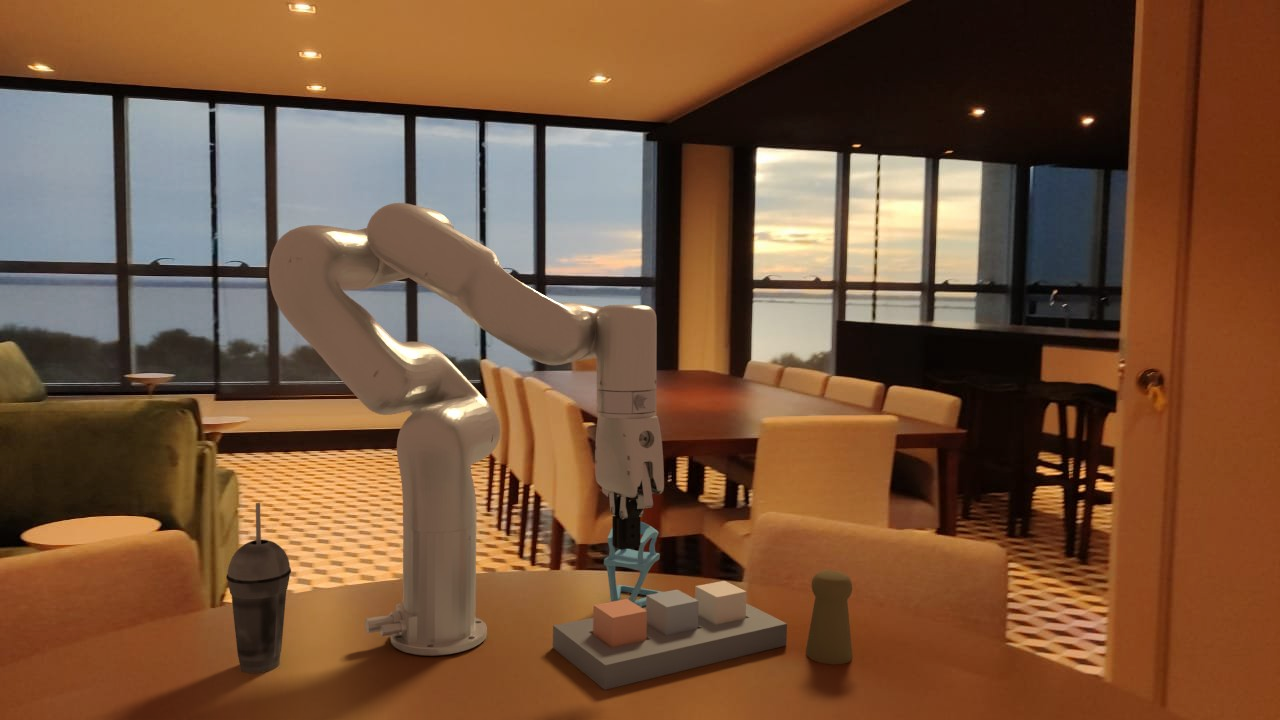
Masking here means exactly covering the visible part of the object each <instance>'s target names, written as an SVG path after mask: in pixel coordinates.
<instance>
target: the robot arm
mask: <svg viewBox="0 0 1280 720" xmlns="http://www.w3.org/2000/svg"><path fill="white" fill-rule="evenodd" d="M268 270H269V272H268V274H269V284H270V290H271V293H272V296H273V298H274V301H275V303H276V306H277V307H278V309H279V311H280V312H281V313H282V315H283V316H284V318H285V319H286V320H287V322H288V323H289V324H290V325H291V326H292V327H293V328H294V330H295V331H296V332H298V334H299V335H301V337H302V338H303V339H304V340H305V341H306V342H307V343H308V344H309V345H310V346H311V347H312V348H313V349H314V350H315V351H316V352H317V354H318V355H319V356H320V357H321V358H322V359H323V361H324V362H325V363H326V365H328V366H329V368H330V369H331V370H332V371H333V372H334V373H335V374H336V376H338V378H339V379H340V380H341V381H342V382H343V383H344V384H345V386H346V387H348V389H349V390H350V391H351V392H352V393H353V395H355V397H356V398H357V399H358V400H359V401H360V402H361V403H362V405H364V406H365V407H366V408H367V409H368V410H369V411H370V412H373V413H375V414H378V415H383V416H390V415H396V414H401V413H405V412H408V411H409V412H410V413H411V414H410V415H409V416H408V417H407V419H406V420H405V421H404V422H403V424H402V425H401V427H400V429H399V432H398V436H397V440H396V441H397V442H396V455H397V457H396V458H397V462H398V468H399V472H400V473H399V475H400V480H401V491H402V492H401V493H402V528H403V530H402V602H401V603H396V605H395V611H390V612H389V614H388V615H381V616H380V615H378V616H372V617H366V618H365V621H364V626H365V627H364V628H365V632H366V634H372V633H377V632H379V633H380V635H381V637H385V636H389V637H390V644H391V645H392V646H393V647H394V648H396V649H397V650H399V651H400V652H403V653H407V654H411V655H415V656H445V655H446V656H447V655H452V654H458V653H461V652H465V651H468V650H470V649H473V648H475V647H477V646H478V645H480V644H482V642H484V641H485V640H486V638H487V636H488V626H487V624H486V623H485V621H483V620H482V619H481V618H479V617H476V598H477V597H476V595H477V594H476V593H477V592H476V590H477V587H476V586H477V583H476V582H477V496H476V489H475V485H474V479H473V475H472V473H473V472H472V465H474V464H476V463H479V462H480V461H482V460H484V459H486V458H487V457H488V456H490V455H491V454H492V452H494V450H495V449H496V448H497V446H498V443H499V440H500V437H501V424H500V420H499V417H498V415H497V413H496V411H495V410H494V408H493V407H492V405H491V404H490V403H489V401H488V400H487V399H486V398H485V397H484V396H483V394H482V393H480V391H479V390H478V389H477V388H476V387H475V386H474V385H473V384H472V383H471V382H470V380H468V379H467V377H466V376H465V375H464V374H463V373H462V372H461V371H460V370H459V369H458V368H457V366H455V364H454V363H453V362H452V361H451V360H450V359H449V358H448V357H447V356H446V355H445V354H443V353H442V352H441V351H440V350H438V349H437V348H435V347H434V346H432V345H430V344H427V343H424V342H421V341H403V342H401V341H399V340H396V338H394V337H392V336H391V335H390V334H389V333H388V332H387V331H386V330H385V329H384V328H383V327H382V326H381V325H380V323H378V321H376V318H374V317H373V316H372V314H371V313H370V312H369V311H368V310H366V308H365V307H363V306H362V305H361V304H359V303H358V302H357V301H355V300H354V299H352V298H351V297H350V296H349V295H348V294H346V292H345V291H347V290H348V291H359V290H366V289H370V288H375V287H379V286H382V285H383V286H384V285H387V284H390V283H393V282H397V281H401V280H404V279H408V278H409V279H410V280H412V281H414V282H415V283H417V284H419V285H420V286H422V287H424V288H426V289H427V290H428V291H430V292H432V293H434V294H436V295H438V296H439V297H441V298H442V299H445V300H446V301H448V302H449V303H451V304H453V305H454V306H456V307H457V308H458V309H460V310H461V312H462V313H463V314H465V316H467V317H468V318H469V319H470V320H471V321H473V322H474V323H475V324H476V325H477V326H478V327H479V328H480V329H482V330H483V331H485V332H486V333H488V334H489V335H491V336H492V337H494V338H495V339H497V340H499V341H500V342H502V343H503V344H505V345H507V346H509V347H510V348H512V349H514V350H515V351H517V352H519V353H520V354H522V355H524V356H525V357H528V358H530V359H532V360H534V361H535V362H538V363H541V364H544V365H548V366H558V365H559V366H560V365H565V364H568V363H574V362H579V361H583V360H588V359H589V360H590V359H596V416H597V422H596V433H595V448H594V474H595V481H596V483H597V484H598V485H599V486H600V487H601V492H602V494H604V495H605V496H606V497H607V498H608V501H609V510H610V511H609V513H611V515H612V516H611V517H612V524H611V525H612V528H611V529H612V544H613V546H614V548H615V549H617V550H619V549H620V550H624V549H635V548H639V546H640V540H641V534H640V522H641V518H642V517H643V515H644V509H648V508H653V506H654V500H653V495H660V494H662V493H663V492H664V489H665V476H664V475H665V472H664V469H665V468H664V454H663V453H664V451H663V440H662V439H663V438H662V432H661V427H660V421H659V417H658V416H657V342H658V341H657V337H658V335H657V334H658V333H657V325H658V324H657V322H658V320H657V314H656V311H655V310H654V309H653V308H652V307H651V306H648V305H643V304H609V305H605V306H599V305H593V304H592V305H591V304H585V303H579V302H557V301H555V300H553V299H552V298H549V297H547V296H546V295H544V294H542V293H541V292H539V291H537V290H535V289H534V288H531V286H528V285H526V284H525V283H524V282H521V281H520V280H518V279H517V278H515V277H514V276H513V275H511V274H510V273H509V272H508V271H506V270H505V269H504V268H503V267H502V265H501V264H500V260H499V259H498V255H496V253H495V252H494V251H493V250H492V249H490V248H489V247H487V246H485V245H483V244H482V243H480V242H478V241H477V240H475V239H472V238H471V237H469V236H467V235H465V234H464V233H462V232H461V231H458V230H456V229H455V227H454V225H453V224H452V222H451V221H450V220H449V218H447V217H446V216H445V215H444V214H442V213H441V212H439V211H437V210H434V209H432V208H428V207H424V206H419V205H414V204H411V203H405V202H393V203H390V204H385V205H384V206H382V207H380V208H379V209H377V210H376V211H375V212H374V213H373V215H371V217H370V219H369V220H368V223H367V226H366V227H365V228H362V229H349V228H341V227H334V226H330V225H322V224H312V225H311V224H310V225H309V224H308V225H303V226H298V227H296V228H293V229H290V230H289V231H287V232H285V233H284V234H283V235H282V236H280V238H279V239H278V241H277V242H276V244H275V245H274V247H273V249H272V252H271V256H270V260H269V269H268Z"/></svg>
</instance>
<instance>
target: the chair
mask: <svg viewBox="0 0 1280 720" xmlns="http://www.w3.org/2000/svg"><path fill="white" fill-rule="evenodd" d="M659 534H660V532H659V531H658V530H657V529H655V528H654V527H653V526H651V525H649V524H648V523H646V522H643V521H640V535H642V536H641V537H640V546H639V547H638V550H635V549H632V548H629V549H624V550H620V549H617V550H616V548H615V547H614V546H613V544H612V528H611V529H610V532H609V534H608V536H607V537H606V539H607V545H608V548H609V554H608V556H607V557H605V558H604V560H603V566H605V567H606V572H607V577H608V578H607V579H608V586H609V595H610V596H609V597H610V602H613V601H618V600H621V594H622V592H625V593H631V594H630V596H629V598H628V600H630V601H631V602H633V603H635V604H636V605H638V606H640V607H641V608H644V607H646V595H651V594H656V593H661V592H662V590H654V589H650V588H649V589H647V588H644V587H643V588H642V586H643V584H644V582H645V579H646V577H647V575H648V573H649V571H650V569H651V568H652V567H653V565H654V564H655V563H656V562H657V561H659V560H660V558H661V557H660V556H661V554H660V553H659V552H656V547H655V546H656V542H657V537H658V536H659ZM650 539H651V541H650ZM649 541H650V544H649V548H648V551H644V548H645V546H646V545H647V544H648V542H649ZM616 567H622V568H627V569H631V570H634V571H639V576H638V579H637V581H636V583H635V585H634V586H631V585H630V586H629V585H624V584H617V581H616ZM638 595H641V596H643V595H644V596H645V597H642V598H639V599H637V597H638Z"/></svg>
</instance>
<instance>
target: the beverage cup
mask: <svg viewBox="0 0 1280 720" xmlns="http://www.w3.org/2000/svg"><path fill="white" fill-rule="evenodd" d="M261 522H262V521H261V502H255V540H252V541H249V542H246V543H245V544H244V545H242V546H240V547H239V548H238V549H237V550H236V551H235V552H234V553H233V556H232V557H231V559H230V561H229V564H228V567H227V568H228V569H227V573H226V579H227V585H228V586H227V587H228V590H229V594H230V595H231V603H232V605H231V606H232V614H233V622H234V631H235V634H234V635H235V641H236V642H235V643H236V651H237V657H238V663H239V670H240V671H241V672H244V673H246V674H261V673H265V672H268V671H271V670H274V669H276V668H277V667H278V666H279V665H280V662H281V661H280V660H281V659H280V658H281V653H282V648H283V647H282V646H283V635H284V624H285V623H284V621H285V611H286V601H287V600H286V599H287V591H288V587H289V581H290V576H291V572H292V568H291V567H290V566H291V565H290V560H289V557H288V555H287V553H286V551H285V550H284V549H283V548H282V547H281V546H280V545H279V544H277V543H276V542H275V541H272V540H269V539H262V533H261V531H262V530H261V529H262V527H261Z"/></svg>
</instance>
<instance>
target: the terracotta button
mask: <svg viewBox="0 0 1280 720" xmlns="http://www.w3.org/2000/svg"><path fill="white" fill-rule="evenodd" d="M643 608H644V607H640V606H638V605H636V604H635V603H633V602H631V601H630V600H629V598H624V599H620V600H618V601H613V602H611V601H610V602H608V601H607V602H603V603H598V604H597V603H596V604H593V610H592V612H593V616H592V618H593V635H594V636H595V637H597V638H598V639H599V640H601V641H602V642H604V643H605V644H606V645H608V646H609V647H611V648H613V647H617V646H622V645H626V644H631V643H635V642H640V641H645V640H646V633H647V611H646V610H645V609H643Z"/></svg>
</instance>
